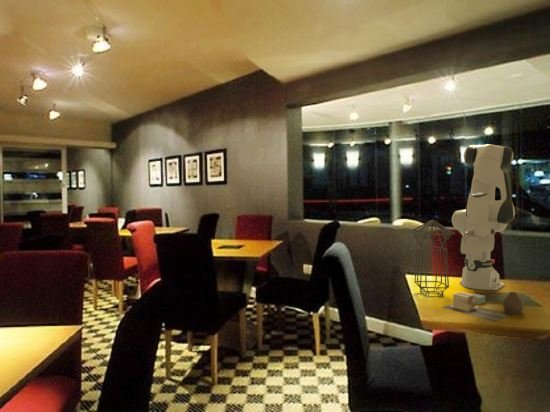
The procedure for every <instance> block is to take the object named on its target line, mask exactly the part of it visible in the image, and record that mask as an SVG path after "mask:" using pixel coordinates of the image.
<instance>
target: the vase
mask: <svg viewBox="0 0 550 412" xmlns="http://www.w3.org/2000/svg"><path fill="white" fill-rule="evenodd" d="M502 307H503V308H502V309H503V311H504V313H506V314H510V315H521V314H522V313H523V311H524V303H523V301H522V299H521V298H520V296H519V295H518V293H517V292H514V291H513V292H512V291H510V292H508V295H507V296H506V297H505V298H504V299H503V302H502Z"/></svg>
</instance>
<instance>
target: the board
mask: <svg viewBox="0 0 550 412" xmlns="http://www.w3.org/2000/svg"><path fill="white" fill-rule="evenodd" d="M441 308H443V309H447V310H451V311H453V312H458V313H462V314H465V315H468V316H471V317H476V318H480V319H484V320H488V321H492V322H495V323H496V322H498V321H501V320H503V319H504V320H505V319H507V318H509V317H512V316H513V315H514V314H509V313H506V312H503V311H497V310H493V309H489V308H486V307H482V306H481V307H480V306H476V305H475V307H474V308H470V309H463V308H459V307H455V306H453V303H452V304H449V305H448V304H447V305H445V306H441Z"/></svg>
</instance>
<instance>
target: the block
mask: <svg viewBox="0 0 550 412" xmlns="http://www.w3.org/2000/svg"><path fill="white" fill-rule="evenodd" d="M473 294H474V293H468V292H463V291H460V292H456V293H453V294H452V298H453V301H452V304H453V306H455V307H459V308H463V309H470V308H474V307H475V306H476V304H475V295H473Z"/></svg>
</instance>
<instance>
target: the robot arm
mask: <svg viewBox="0 0 550 412" xmlns="http://www.w3.org/2000/svg"><path fill="white" fill-rule="evenodd" d="M463 160H464V163H465V164H466V165H468V166H473V177H472V181H471V187H470V193H469V195H468V198H467V205H465V209H460V210H459V209H458V210H455V211H454V212H453V214H452V216H451V223H452V226H453V227H454V229H456V230H457V231H458V232H459V233H460V235H462V237H461V241H460V253H461V254H462V255H465V257H464V265H465V266H464V267H463V268H462V274H461V275H462V276H461V280H459V284H461V286H462V287H465V288H468V289H475V290H484V291H486V290H488V291H497V290H499V289H502V288H503V287H504V286H505V283H504V282H502V281H500V273H498V271H497V270H496V269H495V268H494V267H493V264H495V262H496V261H495V259H492V258H491V252H493V250H494V248H495V234H496V233H498V232H503V231H505V229H506V228H507V226H508V224H509V223H511V222H512V221H514V219H515V215H516V208H515V206H514V203H513V200H512V191H511V186H510V181H509V176H508V173H507V172H505V171H503V170H504V169H507V168H508V167H509V166H510V165H512V162H513V160H514V152H513V149H512V148H511V147H510V146H505V145H504V146H502V145H495V144H492V143H491V144H490V143H489V144H478V145H477V144H471V145H468V146H467V147H466V148H465V150H464V152H463ZM497 188H498V189H499V190H500V196H501V199H499V200H496V199H495V198H496V189H497Z"/></svg>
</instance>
